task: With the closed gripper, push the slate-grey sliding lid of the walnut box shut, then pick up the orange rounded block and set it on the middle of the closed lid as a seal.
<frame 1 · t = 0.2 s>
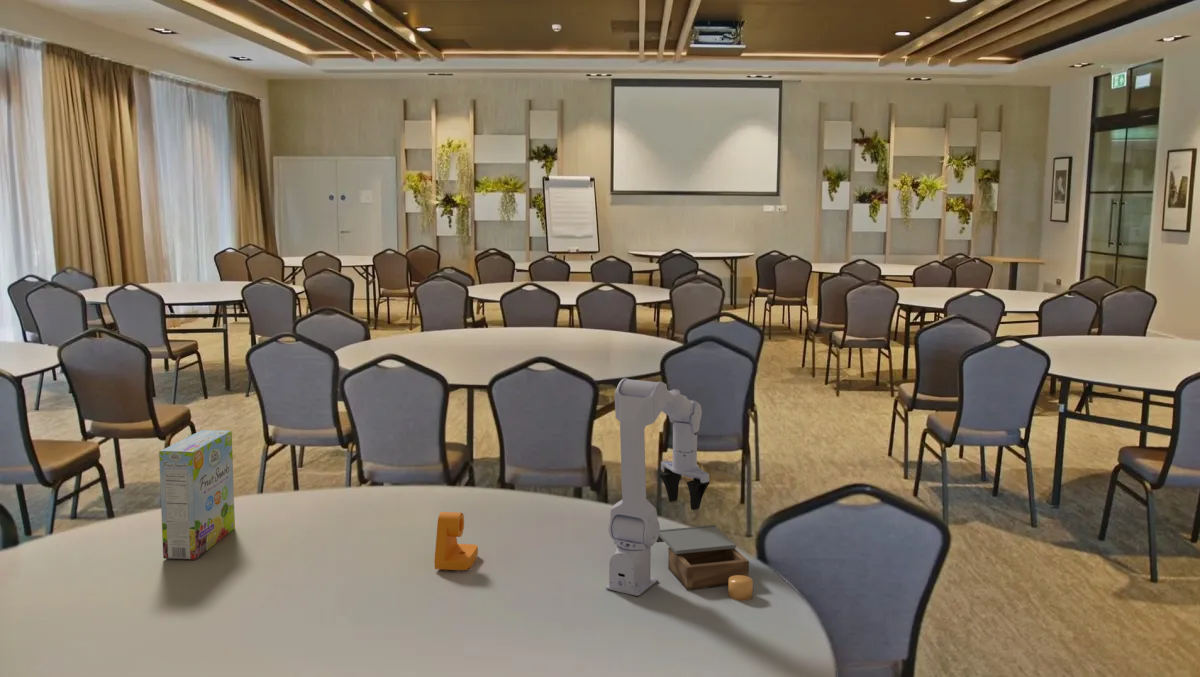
hand: (684, 504, 219), 10 cm above the table, fingers open, 7 cm apart
orange rounded block: (740, 595, 191), on the table
box: (707, 575, 201), on the table
snack box: (202, 544, 220), on the table
lid: (695, 542, 207), point 5 cm above the table, slide at 7.0 cm
bracket: (457, 564, 208), on the table
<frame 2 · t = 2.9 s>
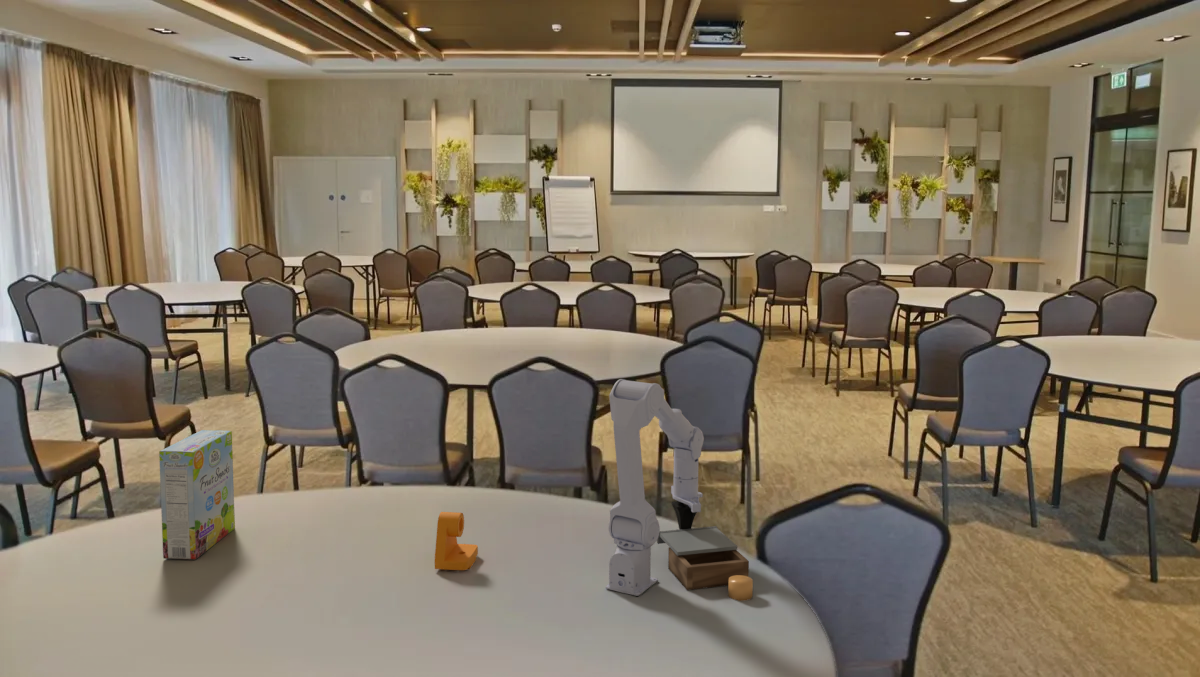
hand: (685, 532, 214), 5 cm above the table, fingers closed
lid: (696, 544, 207), point 5 cm above the table, slide at 6.2 cm, touching gripper
everything else where it was.
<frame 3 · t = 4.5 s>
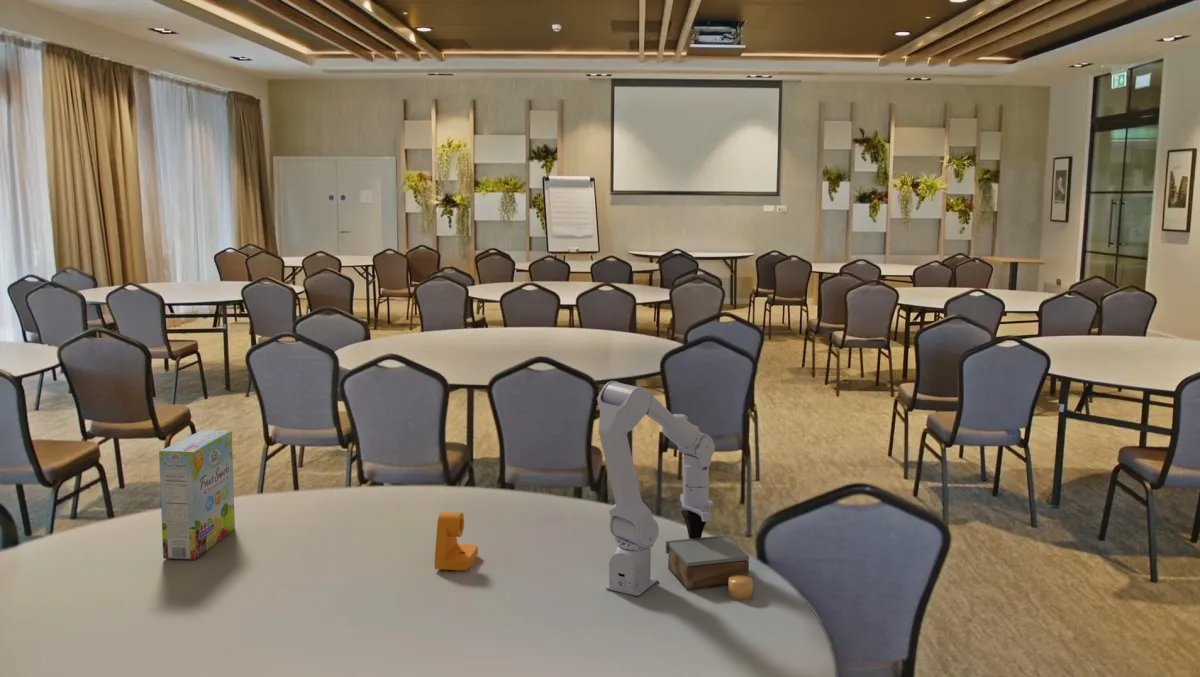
hand: (694, 541, 208), 5 cm above the table, fingers closed
lid: (707, 554, 201), point 5 cm above the table, slide at -0.1 cm, touching gripper
everything else where it was.
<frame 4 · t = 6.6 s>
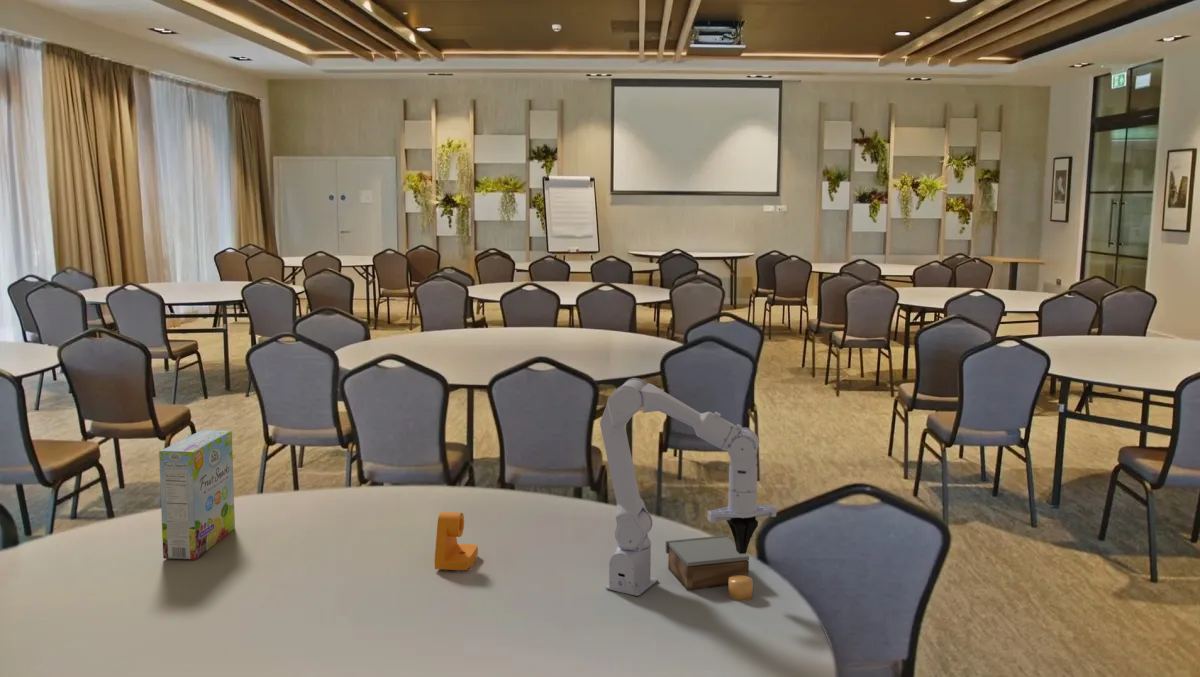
hand: (741, 552, 189), 9 cm above the table, fingers closed
lid: (706, 554, 201), point 5 cm above the table, slide at 0.0 cm
everything else where it was.
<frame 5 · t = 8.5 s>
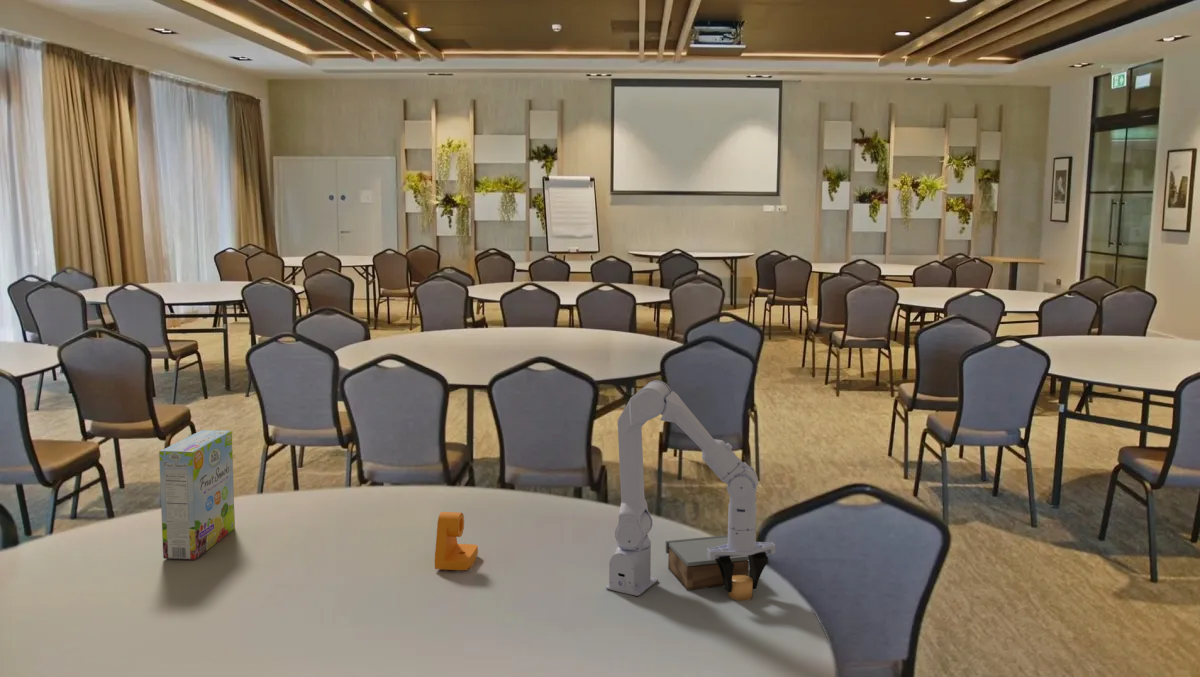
hand: (740, 588, 190), 1 cm above the table, fingers closed on orange rounded block, 5 cm apart
orange rounded block: (740, 595, 191), on the table, touching gripper
everything else where it was.
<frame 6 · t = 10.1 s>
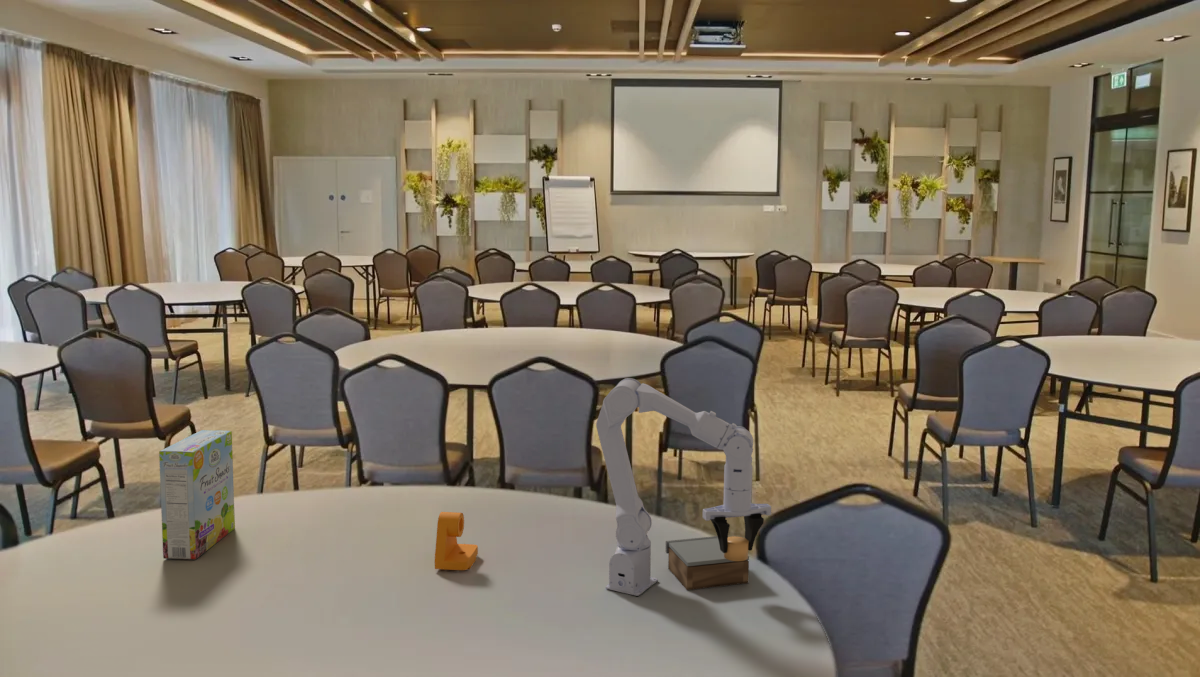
hand: (736, 550, 191), 9 cm above the table, fingers closed on orange rounded block, 5 cm apart
orange rounded block: (735, 556, 191), point 8 cm above the table, touching gripper
everything else where it was.
when the fingers open (9 cm above the table, at t = 11.5 s): orange rounded block drops 1 cm, resting on lid.
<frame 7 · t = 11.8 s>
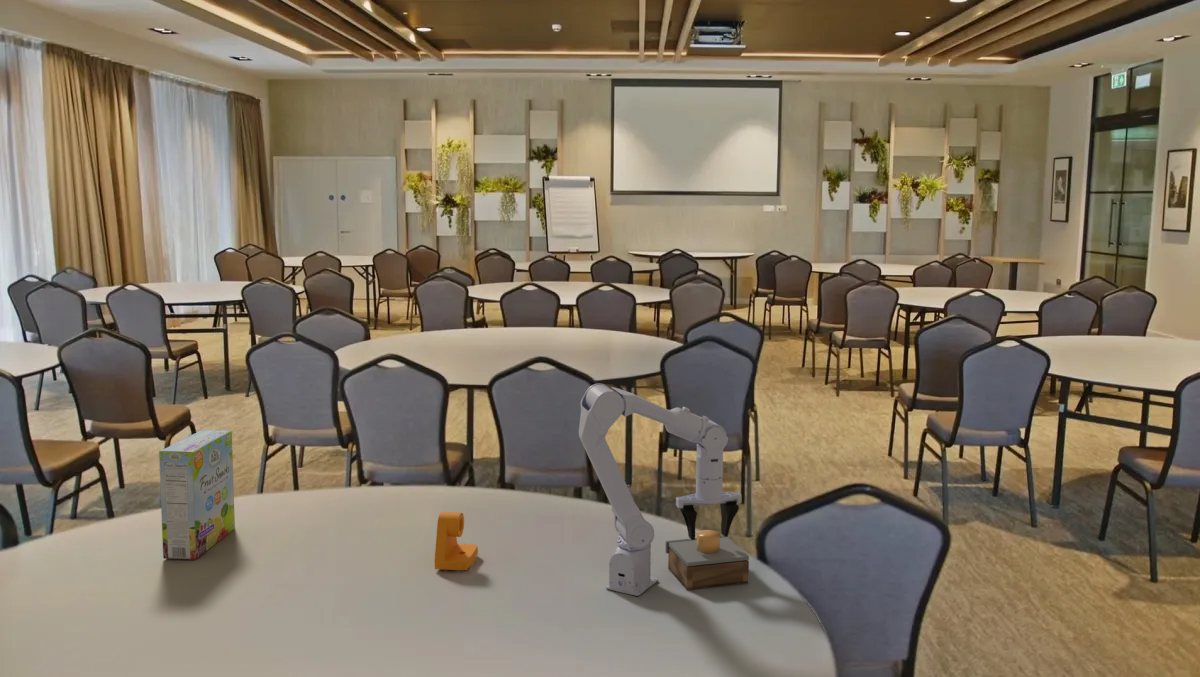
hand: (708, 536, 199), 9 cm above the table, fingers open, 7 cm apart
orange rounded block: (708, 549, 200), point 6 cm above the table, touching lid
lid: (706, 554, 201), point 5 cm above the table, slide at 0.0 cm, touching orange rounded block
everything else where it was.
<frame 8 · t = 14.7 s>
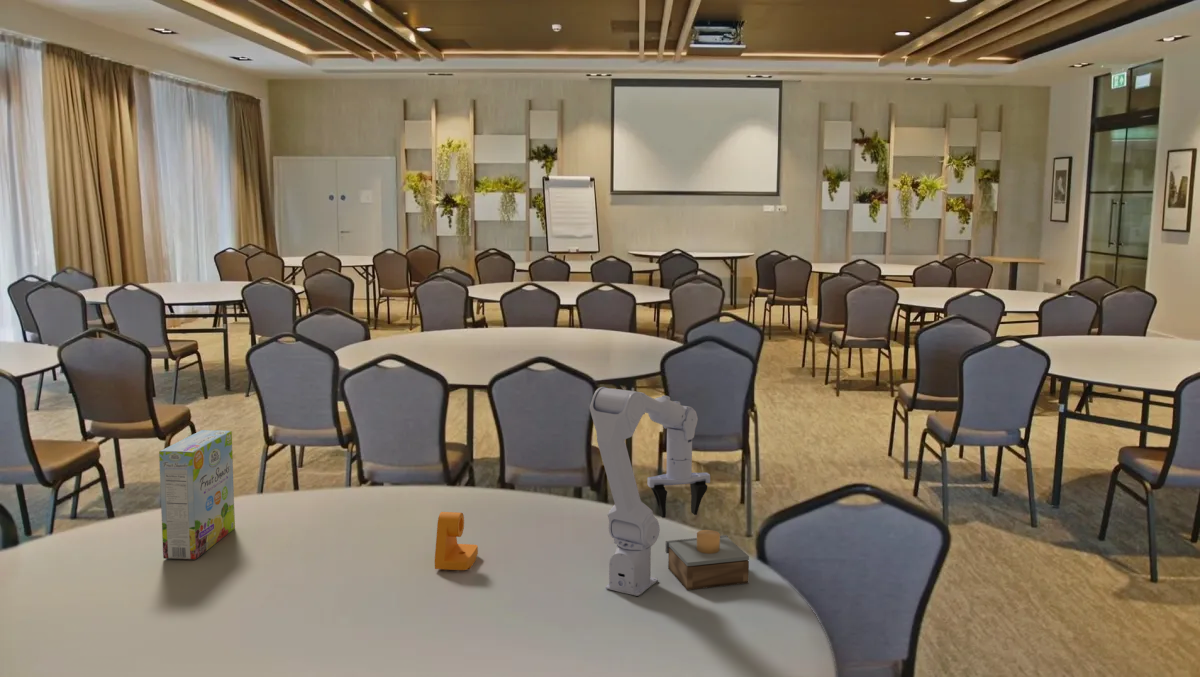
hand: (678, 514, 209), 10 cm above the table, fingers open, 7 cm apart
nothing on the table moved.
at the end: lid slide at 0.0 cm; orange rounded block inside the target area on the box (0.0 cm from its centre), point 6.1 cm above the box's base; orange rounded block tilted 0° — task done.
